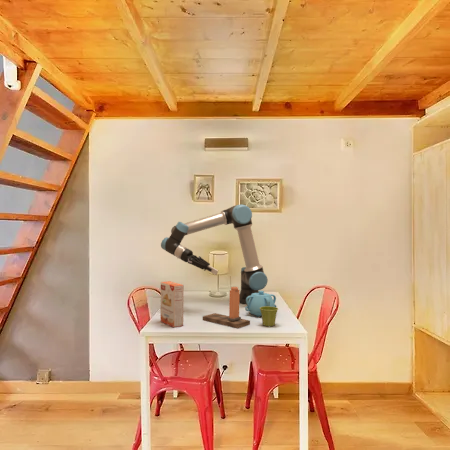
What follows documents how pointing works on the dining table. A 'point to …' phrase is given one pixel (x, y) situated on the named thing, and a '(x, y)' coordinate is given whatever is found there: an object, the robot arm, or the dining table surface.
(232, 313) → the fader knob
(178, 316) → the cracker box
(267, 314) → the plant pot
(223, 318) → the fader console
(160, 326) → the dining table surface
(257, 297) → the decorative pot
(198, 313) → the dining table surface
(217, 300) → the dining table surface
